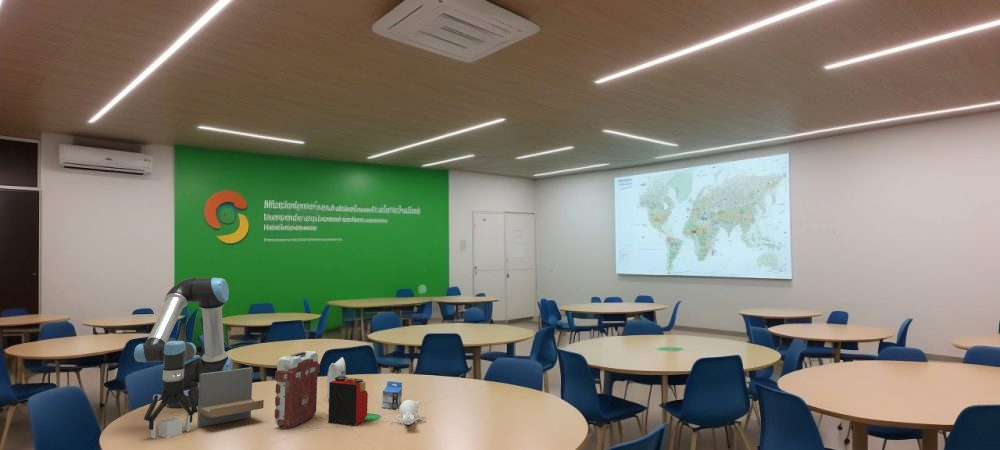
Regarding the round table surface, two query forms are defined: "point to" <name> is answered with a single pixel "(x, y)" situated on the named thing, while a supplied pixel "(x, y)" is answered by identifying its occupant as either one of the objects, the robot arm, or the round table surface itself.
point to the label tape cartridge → (392, 395)
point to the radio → (347, 401)
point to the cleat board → (226, 396)
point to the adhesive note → (170, 427)
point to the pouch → (335, 372)
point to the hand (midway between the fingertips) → (170, 434)
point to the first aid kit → (296, 388)
